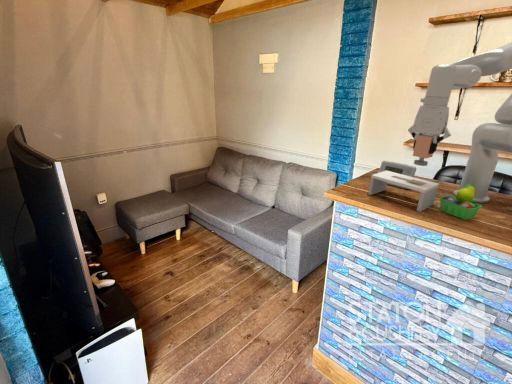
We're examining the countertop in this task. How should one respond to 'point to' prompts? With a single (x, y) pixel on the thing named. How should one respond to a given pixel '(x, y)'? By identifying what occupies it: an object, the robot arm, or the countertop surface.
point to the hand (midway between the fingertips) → (423, 151)
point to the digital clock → (397, 170)
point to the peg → (422, 149)
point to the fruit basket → (461, 203)
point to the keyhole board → (426, 189)
